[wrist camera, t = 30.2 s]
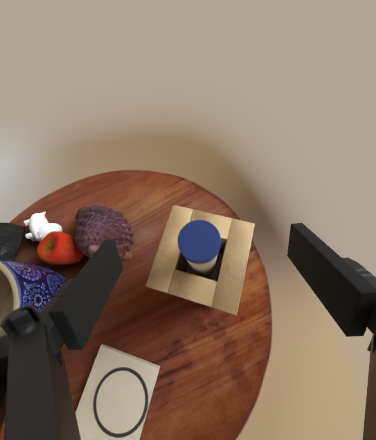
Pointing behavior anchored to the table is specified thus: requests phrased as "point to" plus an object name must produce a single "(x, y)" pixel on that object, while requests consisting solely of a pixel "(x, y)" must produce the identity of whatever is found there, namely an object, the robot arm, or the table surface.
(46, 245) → the apple
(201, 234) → the marker
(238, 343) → the table surface
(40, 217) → the toy creature
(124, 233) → the pine cone
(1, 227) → the rock
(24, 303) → the planter
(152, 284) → the pen block
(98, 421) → the drawing board
